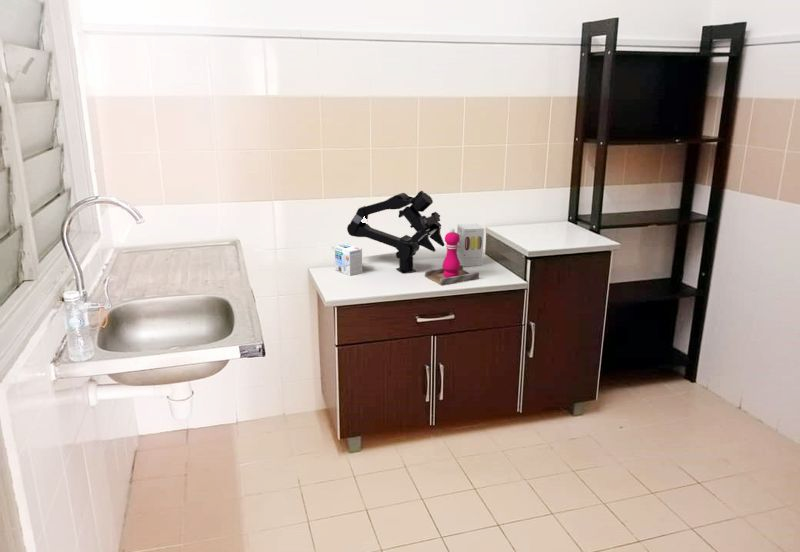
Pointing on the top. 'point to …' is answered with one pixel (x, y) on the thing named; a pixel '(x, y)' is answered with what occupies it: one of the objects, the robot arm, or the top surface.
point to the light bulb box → (348, 259)
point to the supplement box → (470, 244)
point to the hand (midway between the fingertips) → (439, 248)
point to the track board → (439, 278)
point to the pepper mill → (451, 255)
